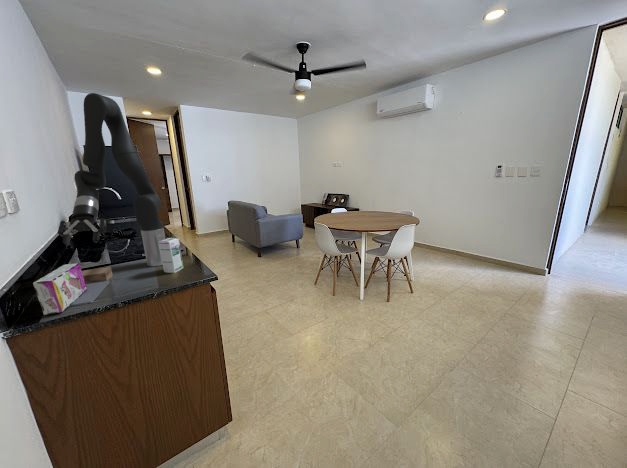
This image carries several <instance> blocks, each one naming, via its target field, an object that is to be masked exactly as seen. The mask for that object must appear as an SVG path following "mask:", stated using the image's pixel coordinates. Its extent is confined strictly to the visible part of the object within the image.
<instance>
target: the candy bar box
mask: <svg viewBox="0 0 627 468" xmlns="http://www.w3.org/2000/svg"><path fill="white" fill-rule="evenodd" d="M82 271H83V270H82V267H81V264H80V262H77V263H68V264H63V265H61V266H59V267H57V268H55V269H54V270H53V271H51V272H49V273H47V274H46V275H44V276H42V277H41V278H39V279H37V280H35V281H34V282H33V283H32V284H33V285H32V286H33V287H34V290H35V293H36V295H37V296H36V297H37V299H38V302H39V304H40V307H41V311H42V313H43V315H44V316H45V315H50V314H56V313H58V314H59V313H63V312H64V311H65V310H66V309H67V308H69V307H68V306H70V305H71V304H72V303H73V302H74V301H75V300H76V299H78V298H79V297H80V296H81V295H82V294H83V293H84V292H86V291H87V287H86V284H85V280H84V277H83V274H82Z"/></svg>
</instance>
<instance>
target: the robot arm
mask: <svg viewBox="0 0 627 468" xmlns="http://www.w3.org/2000/svg"><path fill="white" fill-rule="evenodd" d="M83 117H84V134H85V135H84V136H85V137H84V138H85V139H84V148H83V155H82V156H83V157H82V163H83V165H85V166H86V167H88V168H90V169H93V170H95V171H96V172H93V171H89V170H83V169H82V170H78V171H76V172H75V174H74V177H73V178H74V182H75V186H76V190H77V191H76V199H75V201H74V204H73V211H72V215H71V220H70V221H65V220H61V221H60V222H59V226H58V230H57V234H58V235H59V236H60V237H61V238H62V243H63V244H64V245H65V246H66V247H67V246H70V243H71V237H72V236H73V235H76V234H77V233H78V232H80V233H81V232H89V231H90V230H91V231H92V232H93V233H92V242H93V243H94V244H95V243H98V242H99V241H100V235H101V234H106V233H107V221H106V220H105V218H104V217H101V218H99V219H98V215H99V209H100V208H99V206H100V205H99V199H100V191H99V190H103V189H104V188H105V187H106V186H107V178H106V175H105V160H106V155H107V149H106V144H105V140H104V136H103V123H105V124H106V127H107V130H108V131H109V134H110V136H111V138H110V139H111V140H110V141H111V143H110V145H111V146H110V149H111V155H112V156H113V158H114V161H115V163H116V165H117V167H118V169H119V170H120V172H121V173H122V174H123V175H124V176H125V177H126V179H127V180H128V181H129V182H130V183H131V184H132V185H133V187H134V189H135V191H136V193H137V197H135V198H134V200H133V210H134V215H135V219H136V223H137V225H138V226H139V228H140V234H141V237H142V244H143V245H142V246H143V249H144V254H145V259H146V264H147V266H149V267H158V266H163V263H162V258H161V253H160V248H159V243H158V242H159V241H162V240H165V239H166V234H165V229H164V222H163V221H161V220H160V217H159V212H160V210H161V209H162V200H161V198H160V196H159V195H158V192H157V191H156V189H155V188H154V186H153V184H152V182H151V180H150V178H149V175H148V172H147V171H146V168H145V166H144V164H143V161H142V159H141V157H140V155H139V152H138V150H137V149H136V146H135V143H134V142H133V139H132V137H131V135H130V133H129V130H128V128H127V127H128V126H127V124H126V122H125V119H124V115H123V113H122V110H121V108H120V106H119V104H118V103H117V102H116V100H114V99H113V98H110V97H109V96H106V95H102V94H99V93H96V92H91V93H88V94H86V95H85V96H84V100H83ZM97 225H99V228H97V227H96V226H97Z"/></svg>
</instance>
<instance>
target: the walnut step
mask: <svg viewBox="0 0 627 468" xmlns="http://www.w3.org/2000/svg"><path fill="white" fill-rule="evenodd" d="M82 274H83V277H84V280H85V284H90V283H96V282H103V281H110V280H111V278H112V277H113V276H114V274H113V272H112V267H111V266H108V267H99V268H93V269H85V270H82Z"/></svg>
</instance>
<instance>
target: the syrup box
mask: <svg viewBox="0 0 627 468" xmlns="http://www.w3.org/2000/svg"><path fill="white" fill-rule="evenodd" d="M158 243H159V248H160V253H161V258H162V263H163V265H162V269H163V272H164V273H167V274H168V273H170V274H176V273H177V272H179V271H181V270H183V269H184V268H185V267H184V262H183V256H182V255H183V254H182V250H181V245H180V239H179V238H178V237H177V238H176V237H167V238H165V240H162V241H159V242H158Z"/></svg>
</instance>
